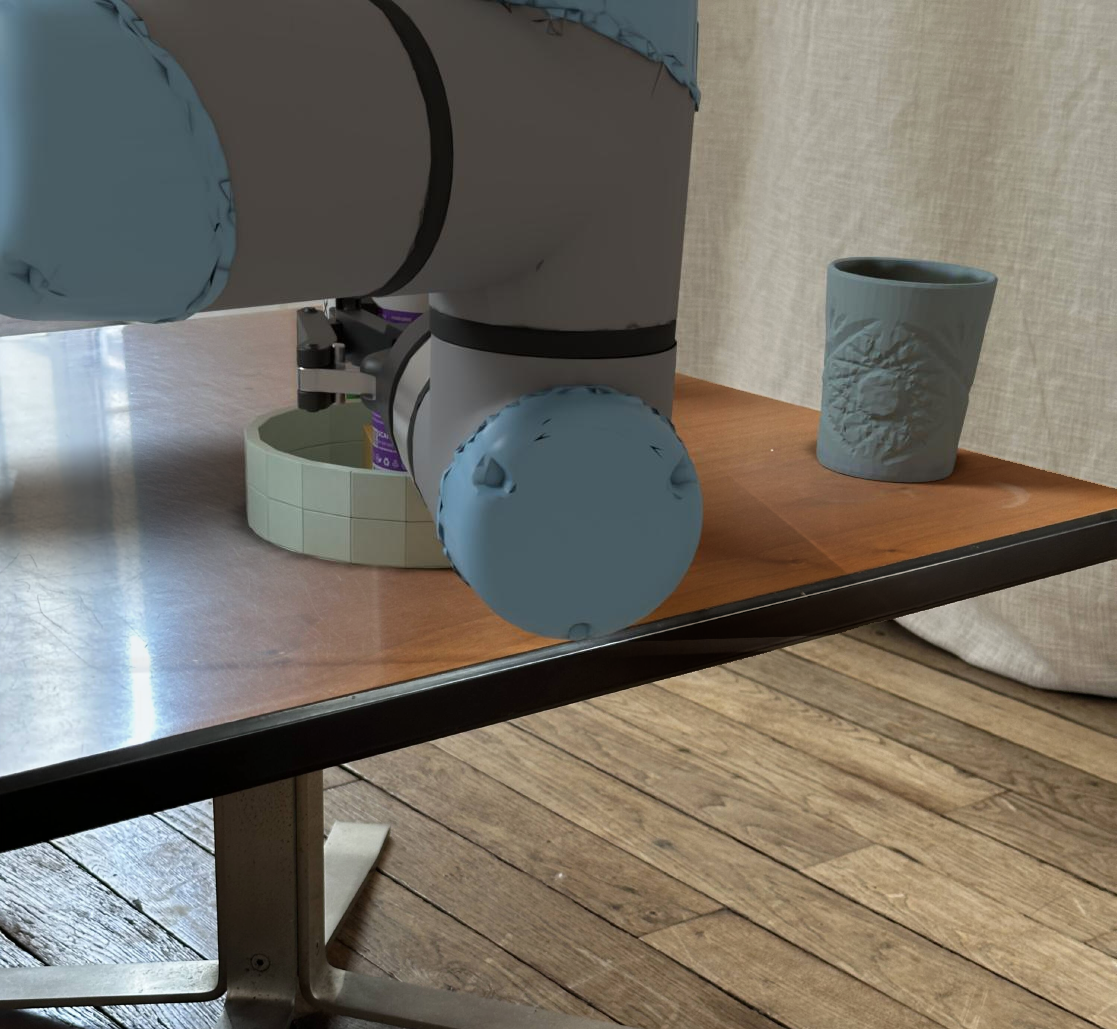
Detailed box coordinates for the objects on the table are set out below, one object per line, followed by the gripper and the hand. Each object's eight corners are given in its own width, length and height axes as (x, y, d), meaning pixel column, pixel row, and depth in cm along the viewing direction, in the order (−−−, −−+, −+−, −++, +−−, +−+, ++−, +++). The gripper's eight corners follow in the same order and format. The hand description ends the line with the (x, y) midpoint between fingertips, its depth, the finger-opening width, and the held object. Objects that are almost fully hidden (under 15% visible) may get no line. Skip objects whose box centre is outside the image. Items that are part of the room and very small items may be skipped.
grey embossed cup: (907, 442, 105) (933, 256, 101) (1001, 482, 97) (1035, 280, 92) (775, 450, 102) (796, 256, 97) (861, 491, 93) (889, 282, 88)
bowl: (256, 583, 73) (253, 476, 71) (240, 487, 87) (237, 397, 85) (601, 575, 76) (608, 473, 74) (531, 485, 91) (535, 398, 89)
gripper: (251, 516, 58) (229, 385, 79) (710, 510, 62) (575, 386, 83) (244, 307, 55) (223, 228, 76) (728, 314, 59) (583, 237, 80)
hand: (407, 311), depth 79 cm, fingers closed on container, 5 cm apart
